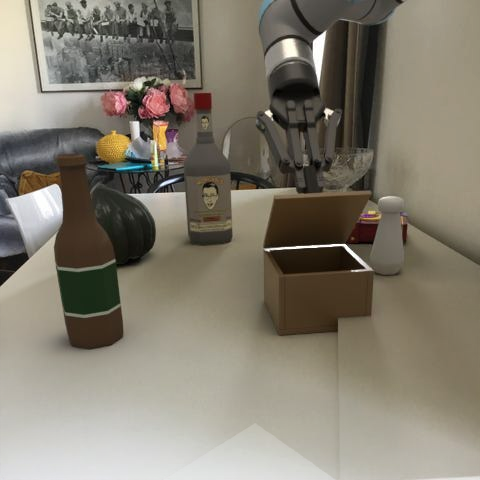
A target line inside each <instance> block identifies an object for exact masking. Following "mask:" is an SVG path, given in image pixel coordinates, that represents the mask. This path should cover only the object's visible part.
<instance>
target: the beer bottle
mask: <svg viewBox="0 0 480 480" xmlns="http://www.w3.org/2000/svg"><path fill="white" fill-rule="evenodd" d="M55 165H56V166H57V168H58V172H59V181H60V182H59V183H60V194H61V206H62V221H61V224H60V226H59V228H58V231H57V232H56V235H55V239H54V244H53V252H54V263H55V270H56V275H57V281H58V287H59V288H58V289H59V295H60V300H61V306H62V313H63V317H64V318H63V320H64V325H65V330H66V333H67V337H68V341H69V343H70V345H71V346H72V347H76V348H81V349H87V350H92V349H97V348H102V347H107V346H108V347H109V346H112V345H113V344H115V343H116V342H118V340H120V339H122V338H123V336H124V335H125V334H124V333H125V332H124V320H123V311H122V304H121V303H122V302H121V293H120V287H119V278H118V270H117V264H116V260H115V254H114V249H113V245H112V243H111V241H110V239H109V237H108V235H107V233H106V232H105V230H104V229H103V228H102V227H101V225H100V224H99V223H98V222H97V219H96V216H95V213H94V209H93V205H92V199H91V194H92V193H91V190H90V189H91V188H90V185H89V180H88V174H87V169H86V166H87V165H88V161H87V159H86V156H85V155H83V154H81V153H67V154H66V153H65V154H59V155H58V156H56V161H55Z"/></svg>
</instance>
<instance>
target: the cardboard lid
mask: <svg viewBox="0 0 480 480" xmlns="http://www.w3.org/2000/svg"><path fill="white" fill-rule="evenodd" d="M372 193H373V192H372V190H370V189H369V190H351V191H349V190H348V191H332V192H322V193H309V194H298V193H292V194H291V193H289V194H274V196H273V200H272V205H271V208H270V212H269V216H268V217H269V218H268V222H267V226H266V230H265V235H264V240H263V244H262V247H263V249H272V248H289V247H306V246H323V245H341V244H345V245H346V243H347V242H348V241H347V240H348V238H349V236H350V234H351V232H352V230H353V228H354V226H355V225H356V223H357V221H358V219H359V217H360V215H361V213H362V212H364V210H365V208H366V206H367V204H368V202H369V201H370V198H371V196H372Z"/></svg>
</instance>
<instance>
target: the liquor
mask: <svg viewBox="0 0 480 480" xmlns="http://www.w3.org/2000/svg"><path fill="white" fill-rule="evenodd" d="M213 108H214V107H213V92H193V109H194V110H195V117H196V139H195V144H194V145H193V147H192V148H191V150H190V151H189V153H188V154H187V155H186V157H185V158H184V160H183V161H184V162H183V177H184V178H183V179H184V192H185V193H184V194H185V195H184V196H185V206H186V210H185V211H186V224H187V235H188V238H189V240H190V242H191V244H192V245H198V246H210V245H211V246H212V245H224V244H226V243H229V242H231V241H232V239H233V237H234V235H233V212H232V211H233V210H232V184H231V183H232V181H231V164H230V162H229V159H228V158H227V157H226V155H225V154H224V153H223V152H222V150H220V148H219V146H217V145H216V143H215V138H214V131H213V115H212V110H213Z"/></svg>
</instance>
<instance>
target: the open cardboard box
mask: <svg viewBox="0 0 480 480" xmlns="http://www.w3.org/2000/svg"><path fill="white" fill-rule="evenodd" d="M262 254H263V259H262V260H263V301H264V304H265V306H266V308H267V310H268V313H269V315H270V317H271V320H272V322H273V324H274V327H275V329H276V332H277V334H278V336H289V335H290V336H291V335H302V334H319V333H329V332H330V333H331V332H339V319H345V318H357V317H358V318H359V317H371V316H372V311H373V310H372V308H373V294H374V293H373V292H374V277H375V271H374V268H373V267H371V266H370V265H369V264H368V263H366V262H365V261H364V260H363V259H362V258H361V257H360V256H359V255H358V254H356V253H355V252H354V251H353V250H352V249H351V248H350V247H349V246H347V245H346V243H345V244H328V245H311V246H294V247H277V248H263V253H262Z"/></svg>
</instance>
